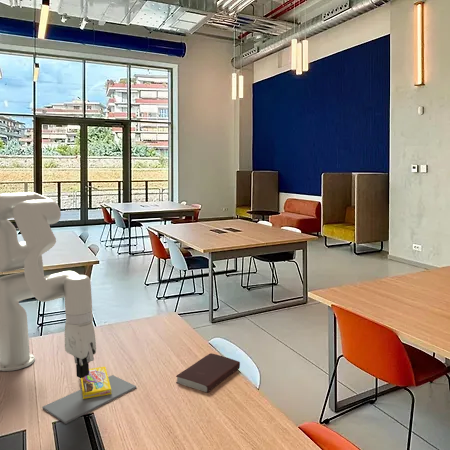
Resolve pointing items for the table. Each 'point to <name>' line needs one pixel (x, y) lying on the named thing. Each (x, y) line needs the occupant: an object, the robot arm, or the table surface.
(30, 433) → the table surface
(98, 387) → the candy box
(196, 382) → the book
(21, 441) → the table surface
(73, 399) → the mat
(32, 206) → the robot arm
